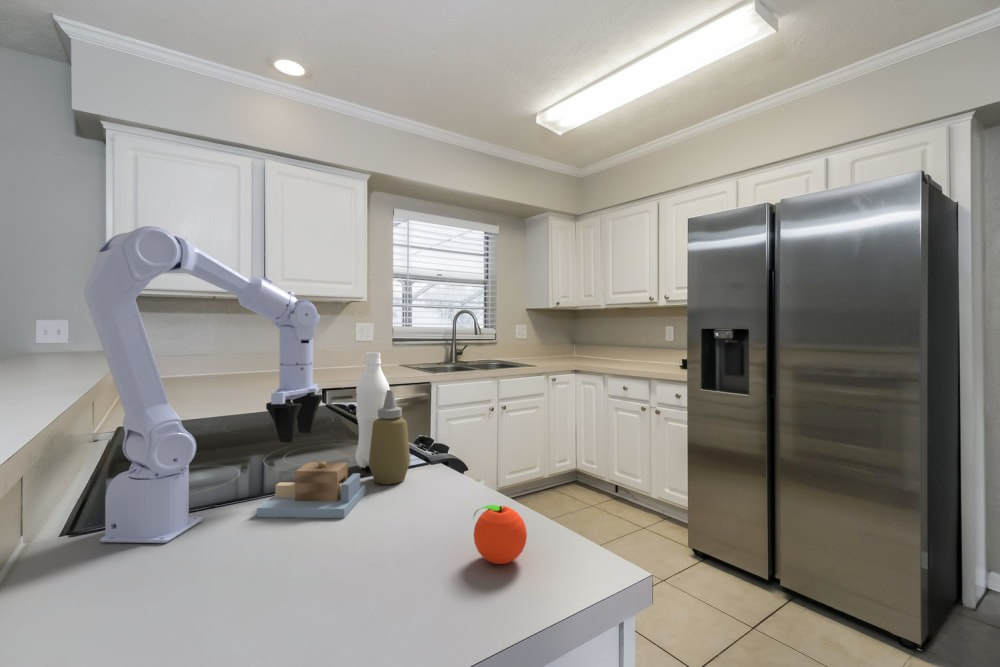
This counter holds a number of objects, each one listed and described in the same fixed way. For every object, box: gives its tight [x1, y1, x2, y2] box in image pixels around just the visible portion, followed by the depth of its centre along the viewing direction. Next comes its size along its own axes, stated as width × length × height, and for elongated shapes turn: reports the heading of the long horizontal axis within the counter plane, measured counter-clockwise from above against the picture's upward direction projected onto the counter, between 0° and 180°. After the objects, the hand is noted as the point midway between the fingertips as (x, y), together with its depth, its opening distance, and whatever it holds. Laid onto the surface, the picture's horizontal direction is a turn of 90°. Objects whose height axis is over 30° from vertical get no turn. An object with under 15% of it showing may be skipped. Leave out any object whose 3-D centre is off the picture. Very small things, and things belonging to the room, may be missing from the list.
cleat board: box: [256, 472, 366, 519], centre depth 78 cm, size 14×11×4 cm
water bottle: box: [355, 351, 391, 468], centre depth 100 cm, size 7×7×25 cm
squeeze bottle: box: [368, 389, 411, 485], centre depth 91 cm, size 8×8×18 cm
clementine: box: [472, 504, 528, 565], centre depth 60 cm, size 8×7×7 cm
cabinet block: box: [294, 461, 349, 502], centre depth 78 cm, size 7×5×6 cm
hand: (296, 437), depth 85 cm, fingers open, 7 cm apart
